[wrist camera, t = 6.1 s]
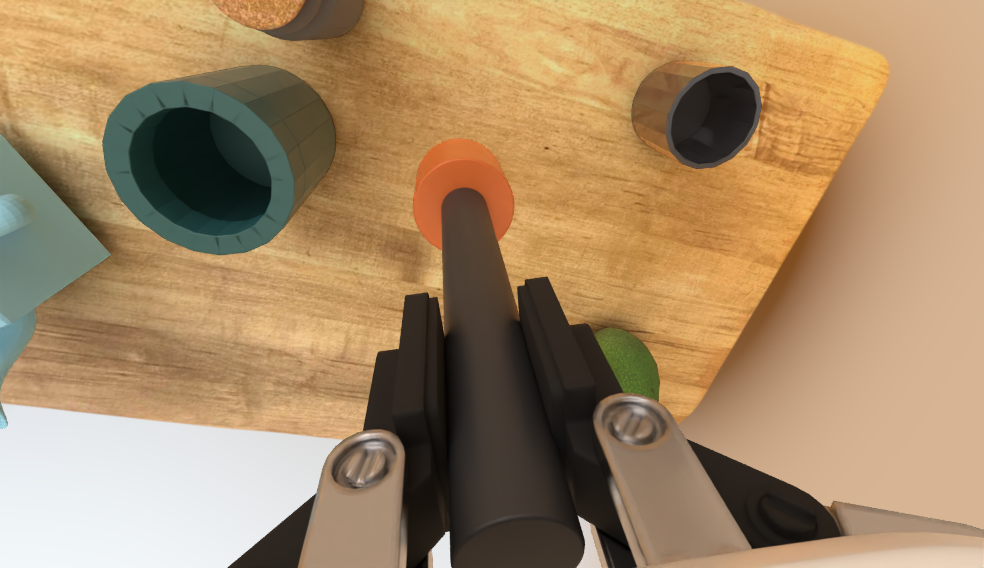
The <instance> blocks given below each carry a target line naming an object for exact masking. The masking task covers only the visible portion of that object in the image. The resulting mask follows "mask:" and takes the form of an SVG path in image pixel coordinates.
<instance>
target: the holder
mask: <svg viewBox="0 0 984 568" xmlns="http://www.w3.org/2000/svg"><path fill="white" fill-rule="evenodd" d="M761 108H762V103H761V97H760V92H759V87H758V85H757V84H756V83H755V81H754V80H753V79H752V77H751V76H750V75H749V73H747V72H745V71H742V70H740V69H738V68H735V67H733V66H726V65H718V64H710V63H702V62H693V61H675V62H670V63H667V64H664V65H662V66H660V67H659V68H657V69H655V70H654V71H653V72H652V73H650V74H649V75H648V76H647V77H646V79H645V80H644V81H643V82H642V84H641V85H640V87H639V89H638V91H637V93H636V95H635V98H634V101H633V105H632V122H633V126H634V129H635V131H636V133H637V135H638V136H639V137H640V139H641V140H642V141H643V142H645V143H646V144H647V145H648V146H650V147H652V148H653V149H655V150H657V151H659V152H661V153H663V154H664V155H666V156H668V157H670V158H672V159H674V160H675V161H677V162H679V163H681V164H683V165H686V166H689V167H692V168H695V169H703V168H713V167H716V166H718V165H720V164H722V163H724V162H726V161H728V160H730V159H732V158H733V157H734V156H735V155H736V154H737V153H739V152H740V151H741V150H742V149H743V148H744V147H745V146H746V145H747V144H748V142H749V140H750V138H751V137H752V135H753V133H754V131H755V130H756V128H757V125H758V122H759V117H760V113H761Z"/></svg>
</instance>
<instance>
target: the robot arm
mask: <svg viewBox="0 0 984 568" xmlns="http://www.w3.org/2000/svg"><path fill="white" fill-rule="evenodd" d="M517 291H518V305H519V319H520V324H521V328H522V331H523V335H524V338H525V342H526V345H527V349H528V352H529V356H530V359H531V363H532V366H533V370H534V373H535V377H536V380H537V384H538V387H539V391H540V394H541V398H542V401H543V405H544V408H545V412H546V415H547V419H548V422H549V426H550V429H551V433H552V436H553V439H554V441H555V443H556V444H557V447H558V450H559V454H560V457H561V461H562V464H563V467H564V471H565V474H566V478H567V481H568V485H569V488H570V492H571V495H572V498H573V502H574V505H575V509H576V512H577V515H578V516H580V517H581V518H583V519H585V520H586V521H588V522H589V523H590V526H591V532H592V535H593V539H594V542H595V546H596V549H597V552H598V556H599V559H600V562H601V566H602V568H984V530H983V529H979V528H976V527H973V526H969V525H966V524H961V523H955V522H950V521H944V520H939V519H933V518H927V517H922V516H916V515H911V514H905V513H899V512H894V511H888V510H882V509H877V508H871V507H865V506H860V505H854V504H849V503H843V502H837V501H833V503H832V505H831V507H828V506H823V505H822V504H821V503H819V502H818V501H817V500H816V499H814V498H813V497H812V496H811V495H809V494H808V493H806V492H804V491H802V490H800V489H799V488H797V487H795V486H793V485H791V484H788V483H786V482H784V481H781V480H779V479H777V478H775V477H772V476H770V475H768V474H765V473H763V472H761V471H759V470H756V469H754V468H752V467H749V466H747V465H745V464H743V463H740V462H738V461H736V460H733V459H731V458H729V457H727V456H724V455H722V454H720V453H717V452H715V451H713V450H710V449H708V448H706V447H704V446H701V445H699V444H697V443H695V442H692V441H690V440H688V439H686V438H685V436H684V435H683V433H682V431H681V430H680V428H679V426H678V425H677V423H676V421H675V420H674V418H673V416H672V415H671V414H670V412H669V411H668V410H667V409H666V408H665V407H664V406H663V405H662V404H660V403H659V402H657V401H656V400H654V399H652V398H649V397H647V396H644V395H640V394H635V393H624V392H623V390H622V388H621V386H620V384H619V382H618V380H617V378H616V376H615V374H614V372H613V370H612V368H611V367H610V365H609V363H608V361H607V359H606V357H605V355H604V353H603V351H602V349H601V347H600V345H599V343H598V341H597V339H596V338H595V336H594V334H593V332H592V330H591V328H590V326H589V325H588V324H586V323H584V324H576V325H569V323H568V321H567V319H566V317H565V315H564V312H563V310H562V308H561V306H560V303H559V301H558V299H557V297H556V294H555V292H554V290H553V288H552V286H551V283H550V281H549V279H548V277H541V278H534V279H526V280H525V285H524V286H518V287H517ZM448 531H450V523H449V486H448V439H447V402H446V366H445V337H444V331H443V326H442V320H441V314H440V309H439V303H438V298H437V297H434V298H429V294H428V293H420V294H412V295H406V296H405V302H404V310H403V319H402V327H401V336H400V344H399V349H395V350H387V351H380V352H378V354H377V357H376V363H375V368H374V374H373V379H372V384H371V390H370V395H369V401H368V406H367V412H366V417H365V423H364V428H363V431H362V432H358V433H356V434H354V435H352V436H350V437H348V438H346V439H344V440H343V441H342V442H341V443H339V444H338V445H337V446H336V447H335V448H334V449H333V450H332V452H331V453H330V454H329V455H328V457H327V459H326V461H325V463H324V466H323V469H322V473H321V477H320V481H319V485H318V489H317V493H316V494H315V495H314V496H312V497H311V498H310V499H309V500H308V501H307V502H305V503H304V504H303V505H302V506H301V507H299V508H298V509H297V510H296V511H295V512H293V513H292V514H291V515H290V516H289V517H287V518H286V519H285V520H284V521H283V522H282V523H280V524H279V525H278V526H277V527H275V528H274V529H273V530H272V531H271V532H270V533H268V534H267V535H266V536H265V537H263V538H262V539H261V540H260V541H259V542H257V543H256V544H255V545H254V546H253V547H252V548H250V549H249V550H248V551H247V552H246V553H244V554H243V555H242V556H241V557H240V558H238V559H237V560H236V561H235V562H234V563H232V564H231V565H230V566H229V567H228V568H433V557H432V550H431V549H432V548H433V547H434V546H435V545H436V544H437V543H438V541H439V540H440V539H441V538H442V537H443V536H444V535H445V532H448Z"/></svg>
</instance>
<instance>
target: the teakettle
mask: <svg viewBox="0 0 984 568" xmlns="http://www.w3.org/2000/svg"><path fill="white" fill-rule="evenodd" d="M109 256H111V254H110V253H109V252H108V250H107V249H106V248H105V247H104V246H103V245H102V244H101V243H100V242H99V241H98V239H97V238H96V237H95V236H94V235H93V234H92V233H91V232H90V231H89V230H88V229H87V228H86V226H85V225H84V224H83V223H82V222H81V221H80V220H79V219H78V218H77V217H76V216H75V214H74V213H73V212H72V211H71V210H70V209H69V208H68V207H67V206H66V205H65V204H64V202H63V201H62V200H61V199H60V198H59V197H58V196H57V195H56V194H55V193H54V192H53V190H52V189H51V188H50V187H49V186H48V185H47V184H46V183H45V182H44V181H43V180H42V178H41V177H40V176H39V175H38V174H37V173H36V172H35V171H34V170H33V169H32V168H31V166H30V165H29V164H28V163H27V162H26V161H25V160H24V159H23V158H22V157H21V156H20V154H19V153H18V152H17V151H16V150H15V149H14V148H13V147H12V146H11V145H10V144H9V142H8V141H7V140H6V139H5V138H4V137H3V136H2V135H1V134H0V390H1V387H2V384H3V380H4V378H5V377H6V375H7V373H8V371H9V369H10V368H11V367H12V365H13V364H14V362H15V361H16V360H17V358H18V357H19V356H20V354H21V353H22V352H23V350H24V349H25V347H26V346H27V344H28V343H29V341H30V339H31V337H32V335H33V333H34V331H35V327H36V321H37V317H36V309H35V308H36V307H37V306H39V305H40V304H41V303H43V302H44V301H46V300H47V299H49V298H50V297H52V296H53V295H54V294H56V293H57V292H59V291H60V290H62V289H63V288H65V287H66V286H67V285H69V284H70V283H72V282H73V281H75V280H76V279H77V278H79V277H80V276H82V275H83V274H85V273H86V272H88V271H89V270H90V269H92V268H93V267H95V266H96V265H98V264H99V263H101V262H102V261H103V260H105V259H106V258H108V257H109ZM7 425H8V422H7V419H6V416H5V414H4V411H3V408H2V405H1V402H0V428H1V429H3V428H6V427H7Z"/></svg>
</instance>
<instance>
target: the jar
mask: <svg viewBox="0 0 984 568" xmlns="http://www.w3.org/2000/svg"><path fill="white" fill-rule="evenodd" d="M102 143H103V144H102V146H103V152H104V159H105V166H106V170H107V173H108V176H109V178H110V180H111V182H112V184H113V186H114V188H115V190H116V192H117V194H118V196H119V197H120V199H121V200H122V202H123V203H124V204H125V205H126V206H127V207H128V208H129V209H130V211H131V212H132V213H133V214H134V215H135V216H136V217H137V219H138V220H139V221H141V222H142V223H143V224H144V225H146V226H147V227H149V228H150V229H151V230H153V231H154V232H156V233H157V234H158V235H160V236H161V237H163V238H164V239H166V240H168V241H170V242H173V243H175V244H178V245H180V246H183V247H185V248H187V249H190V250H193V251H196V252H203V253H209V254H216V255H227V254H236V253H245V252H248V251H251V250H253V249H255V248H257V247H260V246H262V245H264V244H267V243H268V242H270V241H271V240H272V239H273V238H274V237H275V236H276V235H277V234H278V233H279V232H280V231H281V230H282V229H283V228H284V227H285V226H286V224H287V223H288V222H289V220H290V219H291V218H292V216H293V215H294V214H295V213H296V211H297V210H298V209H299V207H300V206H301V205H302V204H303V202H304V201H305V200H306V198H307V197H308V196H309V194H310V193H311V192H312V191H313V189H314V188H315V187H316V185H317V184H318V183H319V182H320V180H321V179H322V178H323V176H324V175H325V174H326V172H327V170H328V168H329V167H330V165H331V163H332V160H333V158H334V154H335V148H336V133H335V127H334V124H333V120H332V117H331V115H330V113H329V111H328V109H327V107H326V105H325V104H324V102H323V101H322V99H321V98H320V97H319V95H318V94H317V93H316V92H315V91H314V90H313V89H312V88H311V87H310V86H309V85H308V84H307V83H305V82H304V81H303V80H301V79H300V78H298V77H297V76H295V75H293V74H291V73H289V72H287V71H285V70H282V69H280V68H276V67H272V66H265V65H251V66H241V67H235V68H230V69H225V70H219V71H214V72H208V73H203V74H198V75H192V76H187V77H182V78H176V79H171V80H165V81H160V82H155V83H150V84H148V85H146V86H144V87H142V88H140V89H138V90H136V91H134V92H132V93H130V94H128V95H126V96H125V97H124V98H123V99H122V100H121V102H120V103H119V104H118V105H117V107H116V108H115V109H114V110H113V112H112V113H111V114H110V115H109V118H108V120H107V124H106V129H105V133H104V137H103V141H102Z"/></svg>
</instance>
